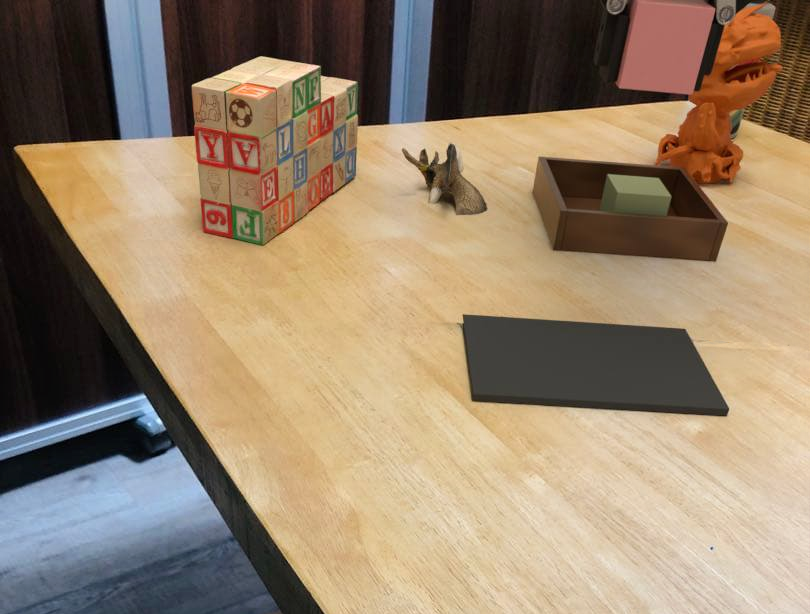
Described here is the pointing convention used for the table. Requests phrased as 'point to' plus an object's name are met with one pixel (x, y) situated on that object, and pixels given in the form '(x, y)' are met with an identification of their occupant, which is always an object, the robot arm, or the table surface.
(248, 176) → the stack of blocks
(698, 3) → the pink block
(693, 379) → the mat
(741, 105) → the toy dinosaur
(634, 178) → the green block
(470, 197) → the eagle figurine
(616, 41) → the robot arm
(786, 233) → the table surface
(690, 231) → the crate
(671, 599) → the table surface
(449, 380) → the table surface
